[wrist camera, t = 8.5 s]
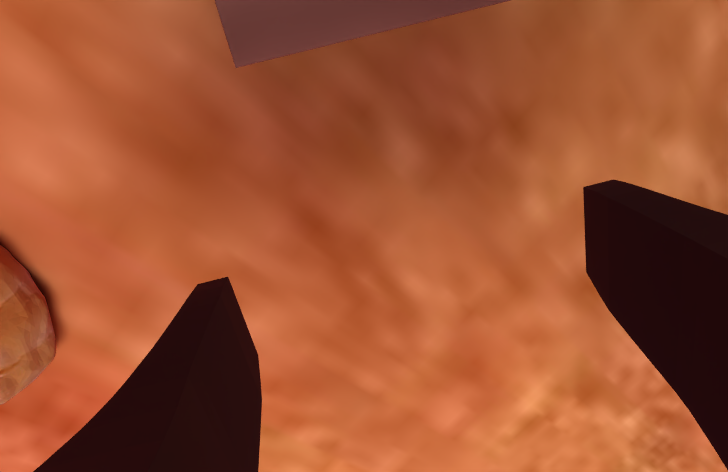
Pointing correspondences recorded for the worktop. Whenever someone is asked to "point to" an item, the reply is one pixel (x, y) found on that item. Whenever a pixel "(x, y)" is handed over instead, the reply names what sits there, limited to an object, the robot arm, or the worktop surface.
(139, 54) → the worktop surface
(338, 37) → the base
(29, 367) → the pastry
